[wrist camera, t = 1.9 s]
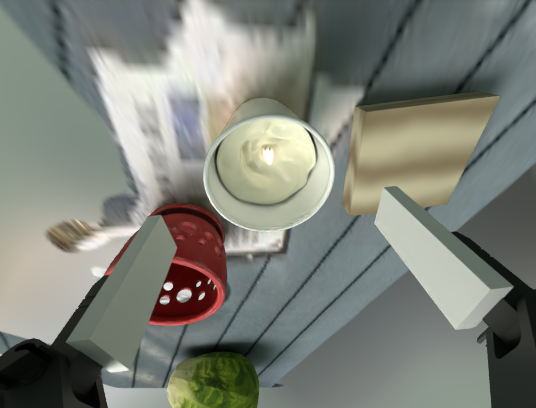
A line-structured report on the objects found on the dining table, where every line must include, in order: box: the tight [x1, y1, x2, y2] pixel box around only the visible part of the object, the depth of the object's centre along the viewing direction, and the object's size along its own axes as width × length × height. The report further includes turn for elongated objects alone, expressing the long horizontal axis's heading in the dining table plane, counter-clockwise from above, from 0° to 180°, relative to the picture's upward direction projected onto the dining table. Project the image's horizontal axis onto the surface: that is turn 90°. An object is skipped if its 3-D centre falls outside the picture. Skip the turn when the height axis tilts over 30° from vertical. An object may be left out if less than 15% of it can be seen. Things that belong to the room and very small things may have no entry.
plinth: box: [342, 92, 500, 216], centre depth 27 cm, size 14×14×3 cm
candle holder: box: [203, 98, 335, 232], centre depth 21 cm, size 10×10×12 cm
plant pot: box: [104, 203, 227, 325], centre depth 28 cm, size 13×13×12 cm
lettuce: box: [167, 351, 259, 408], centre depth 54 cm, size 19×23×18 cm
